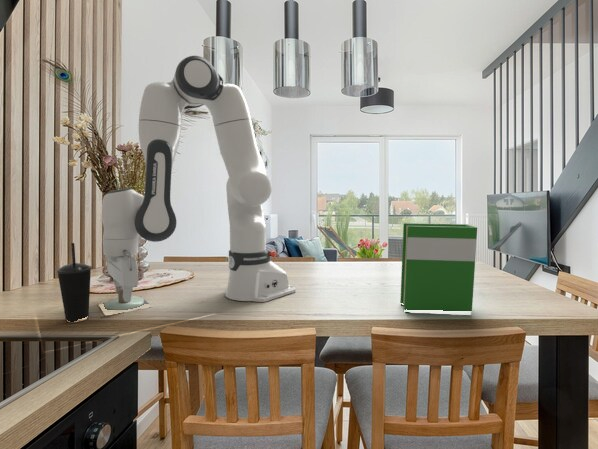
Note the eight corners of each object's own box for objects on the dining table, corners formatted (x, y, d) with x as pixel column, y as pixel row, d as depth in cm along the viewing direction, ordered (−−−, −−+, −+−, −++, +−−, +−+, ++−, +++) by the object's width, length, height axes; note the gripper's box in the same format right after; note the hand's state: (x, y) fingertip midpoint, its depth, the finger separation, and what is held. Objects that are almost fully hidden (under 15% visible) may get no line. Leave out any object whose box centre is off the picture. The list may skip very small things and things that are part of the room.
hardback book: (404, 313, 103) (408, 226, 100) (400, 304, 110) (403, 223, 108) (471, 316, 101) (477, 227, 98) (462, 307, 108) (467, 224, 106)
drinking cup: (79, 328, 91) (74, 246, 88) (52, 325, 92) (46, 245, 90) (101, 317, 98) (97, 241, 96) (76, 314, 100) (71, 240, 97)
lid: (138, 298, 113) (137, 282, 112) (148, 306, 105) (147, 290, 104) (101, 304, 106) (100, 288, 106) (109, 314, 99) (108, 297, 98)
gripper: (143, 252, 97) (145, 304, 99) (124, 241, 113) (126, 286, 115) (117, 255, 94) (119, 308, 95) (101, 243, 110) (103, 289, 111)
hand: (123, 296), depth 105 cm, fingers open, 8 cm apart
